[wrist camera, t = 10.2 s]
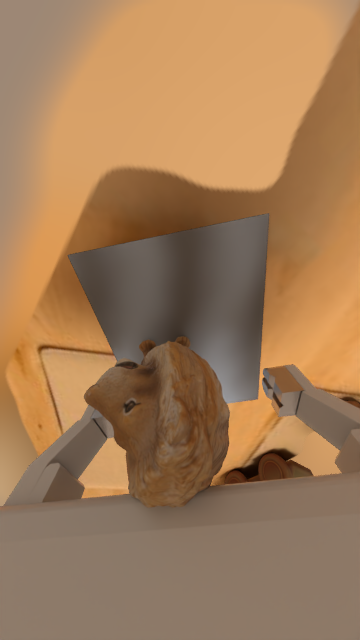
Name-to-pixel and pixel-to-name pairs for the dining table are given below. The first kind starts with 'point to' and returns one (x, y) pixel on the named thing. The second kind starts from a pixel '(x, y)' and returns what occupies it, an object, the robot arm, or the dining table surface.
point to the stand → (186, 296)
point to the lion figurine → (165, 421)
